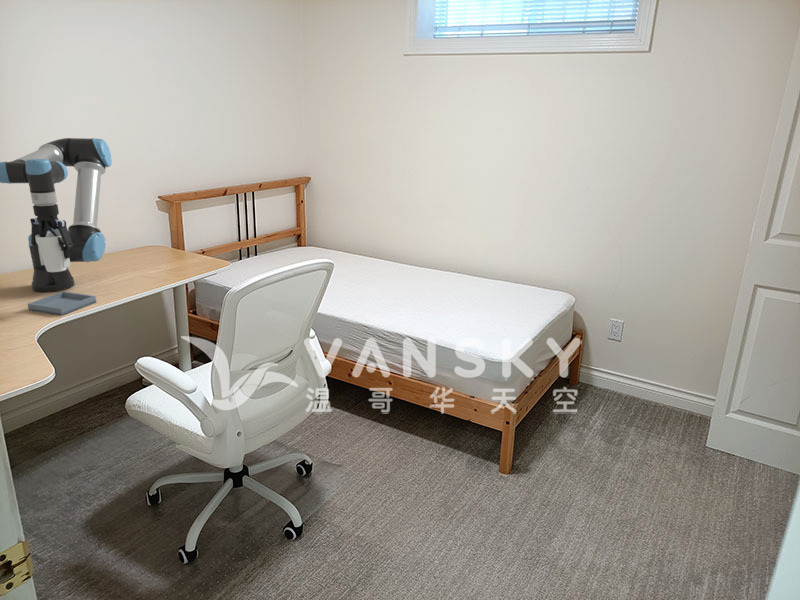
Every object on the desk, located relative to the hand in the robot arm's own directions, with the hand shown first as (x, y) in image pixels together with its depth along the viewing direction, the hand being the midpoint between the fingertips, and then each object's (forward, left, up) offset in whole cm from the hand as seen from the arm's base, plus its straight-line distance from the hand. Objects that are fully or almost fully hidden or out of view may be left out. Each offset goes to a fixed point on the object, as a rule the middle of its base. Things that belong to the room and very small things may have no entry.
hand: (56, 265), depth 212 cm
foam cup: (0, 0, -2) cm, 2 cm away
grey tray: (0, 0, -16) cm, 16 cm away
